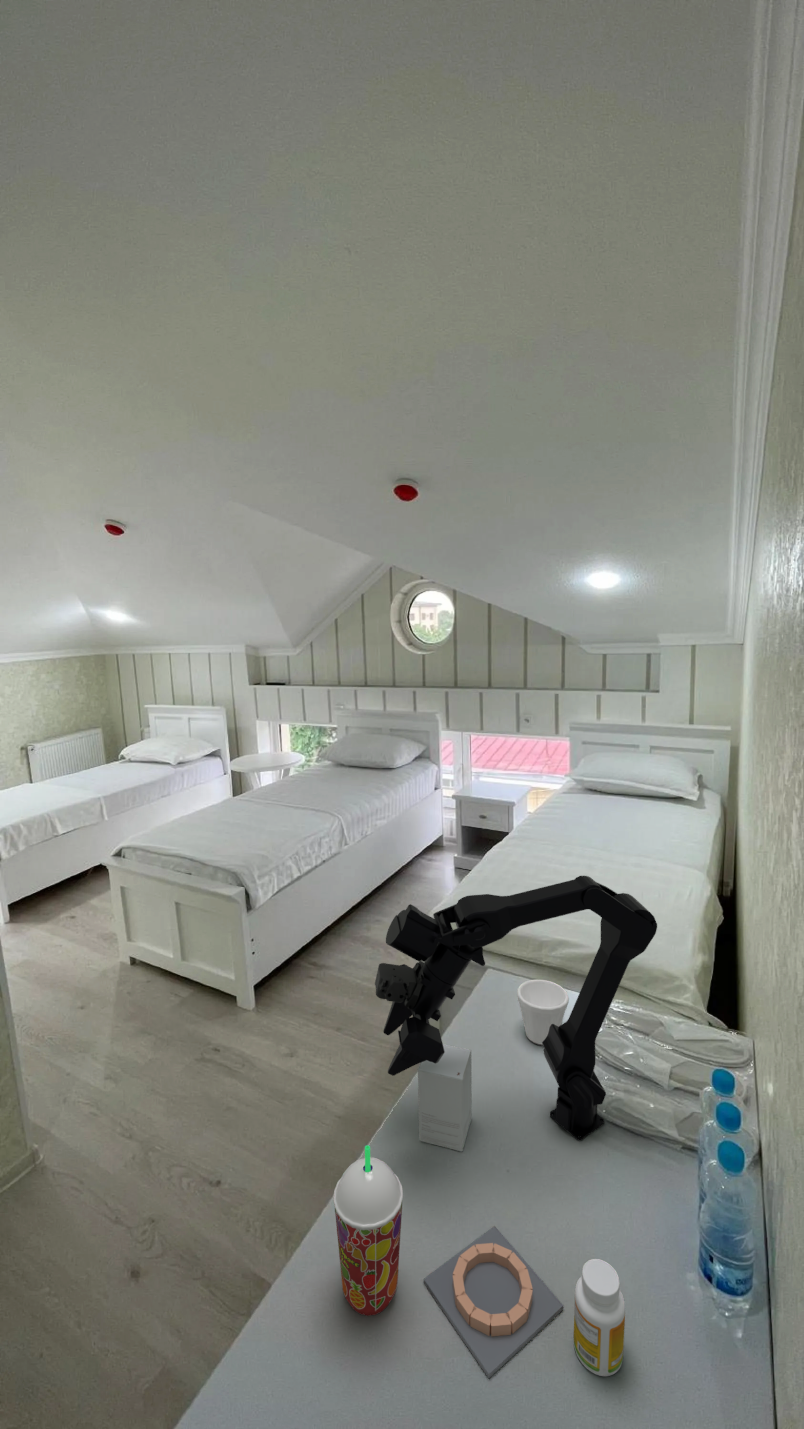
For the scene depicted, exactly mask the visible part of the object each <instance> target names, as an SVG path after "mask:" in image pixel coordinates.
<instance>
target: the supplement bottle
mask: <svg viewBox="0 0 804 1429" xmlns="http://www.w3.org/2000/svg"><path fill="white" fill-rule="evenodd" d="M581 1270H582V1272H581V1276H580V1277H579V1278H578V1279H577V1281H576V1285H575V1290H574V1309H573V1310H574V1311H573V1312H574V1313H573V1314H574V1315H573V1346H574V1351H575V1354H576V1356H577V1358H578V1360H579V1361H580V1363H581V1364H582V1365H583V1366H584V1367H585V1368H586V1369H587V1370H588V1371H589V1372H591V1373H592V1374H594V1375H596V1376H600V1377H609V1376H613V1375H614V1374H617V1372H619V1370H620V1368H621V1367H622V1364H623V1362H624V1361H623V1359H624V1348H625V1345H624V1344H625V1326H626V1324H625V1323H626V1322H625V1321H626V1302H625V1298H624V1295H623V1293H622V1290H621V1288H620V1287H621V1286H620V1285H621V1284H620V1278H619V1275H618V1272H617V1271H616V1269H615V1268H614V1267H613V1266H612V1265H611V1264H610V1263H608V1262H607V1261H605V1260H604V1259H603V1260H602V1259H599V1258H592V1259H588V1260H587V1261H586V1262H585V1263H584V1264H583V1266H582V1269H581Z"/></svg>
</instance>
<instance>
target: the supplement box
mask: <svg viewBox="0 0 804 1429" xmlns="http://www.w3.org/2000/svg"><path fill="white" fill-rule="evenodd" d="M443 1047H444V1054H443V1056H442V1057H441V1059H440V1060H439V1062H438V1063H433V1062H429V1061H427V1060H426V1061H424V1062H421V1063H419V1066H418V1068H417V1086H418V1088H417V1089H418V1093H417V1094H418V1096H417V1097H418V1134H419V1136H418V1137H419V1142H422V1143H427V1144H431V1145H435V1146H439V1147H443V1148H446V1149H451V1150H454V1151H457V1152H463V1150H464V1147H465V1143H466V1140H467V1135H468V1133H469V1128H470V1125H471V1122H472V1118H473V1113H472V1111H473V1110H472V1107H473V1106H472V1101H473V1100H472V1089H473V1088H472V1084H473V1083H472V1082H473V1081H472V1078H473V1077H472V1049H468V1048H464V1047H459V1046H454V1045H449V1044H445V1043H444V1044H443Z"/></svg>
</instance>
